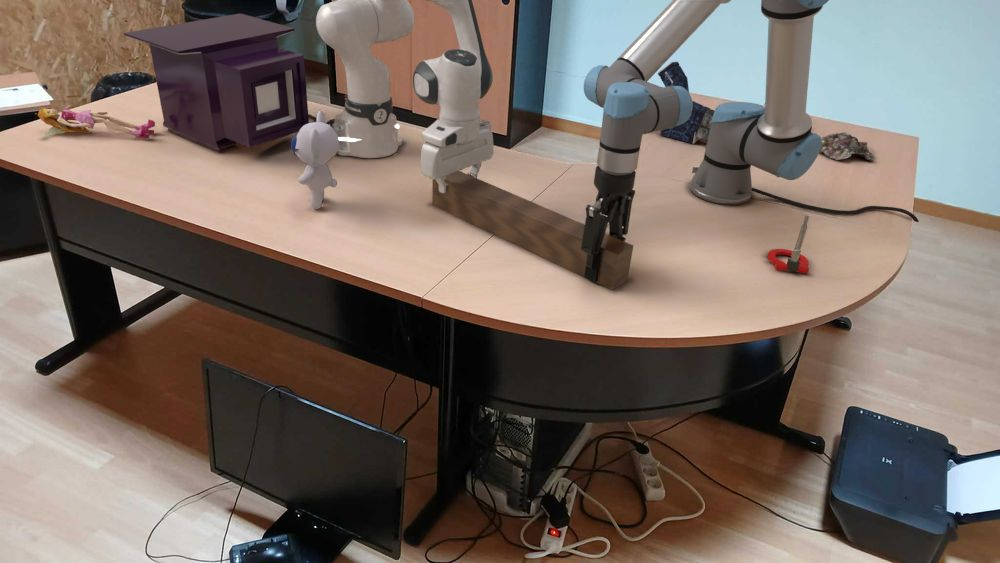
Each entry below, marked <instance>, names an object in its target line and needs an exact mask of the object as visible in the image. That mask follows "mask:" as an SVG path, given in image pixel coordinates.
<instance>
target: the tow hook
mask: <svg viewBox="0 0 1000 563" xmlns="http://www.w3.org/2000/svg"><path fill="white" fill-rule="evenodd" d="M809 220H810V215H808V214H805V216H804V219H803V223H802V224H801V226H800V229H799V231H798V236H797V239H796V242H795V246H794V247H793V249H792V250H791V249H786V248H774V249H771V250H769V251H768V252H767V260H769V261H770V263H772V264H773V265H774V269H775V270H777V271H786V272H789V273H800V274H801V273H802V274H808V273H809V269H810V268H809V263H810V262H809V260H808V258H807V257H806V256H805V255H803V254H802V246H803V243H804V239H805V237H806V234H807V230H808V223H809ZM781 255H782V256H789V257H788V259H787V262H785V261H783V260H781V259H779V258H778V257H776V256H781Z"/></svg>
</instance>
